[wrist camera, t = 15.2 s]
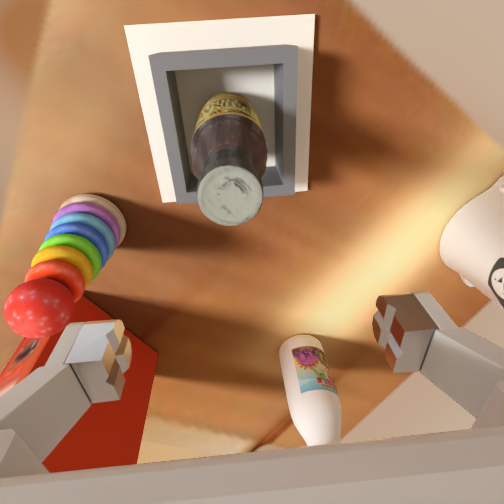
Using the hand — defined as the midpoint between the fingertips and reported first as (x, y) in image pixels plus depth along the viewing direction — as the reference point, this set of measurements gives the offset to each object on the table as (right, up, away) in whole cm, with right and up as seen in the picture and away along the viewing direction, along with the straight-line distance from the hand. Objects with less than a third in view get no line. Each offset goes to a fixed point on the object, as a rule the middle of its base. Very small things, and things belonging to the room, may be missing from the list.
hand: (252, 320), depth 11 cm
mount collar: (-3, +17, +26) cm, 31 cm away
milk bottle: (+8, -15, +48) cm, 51 cm away
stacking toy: (-20, +6, +31) cm, 38 cm away
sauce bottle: (-3, +17, +26) cm, 31 cm away
